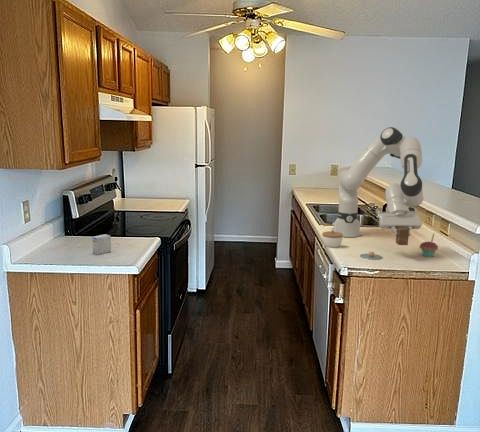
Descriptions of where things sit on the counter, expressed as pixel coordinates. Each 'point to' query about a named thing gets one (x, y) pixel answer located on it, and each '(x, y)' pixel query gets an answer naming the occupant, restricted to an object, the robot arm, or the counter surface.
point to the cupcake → (429, 248)
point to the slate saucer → (376, 257)
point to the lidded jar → (332, 239)
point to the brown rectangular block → (402, 236)
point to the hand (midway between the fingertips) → (402, 235)
